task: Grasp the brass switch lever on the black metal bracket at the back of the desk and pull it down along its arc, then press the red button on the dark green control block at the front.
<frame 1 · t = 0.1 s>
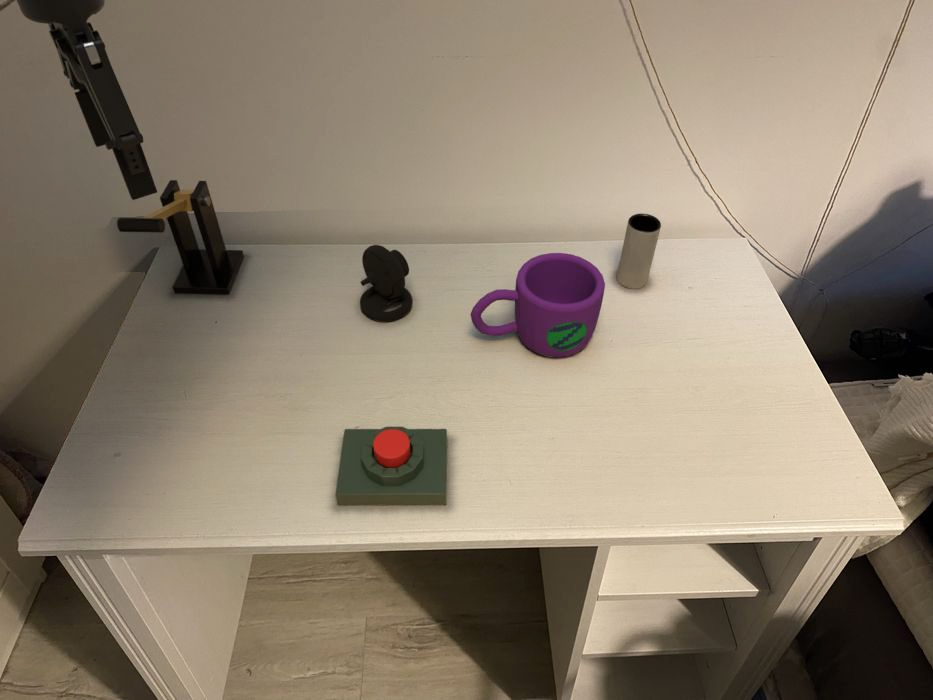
hand: (125, 167, 82), 24 cm above the table, tool pointing down, fingers open, 13 cm apart
mug: (532, 338, 98), on the table
button block: (394, 471, 82), on the table
webcam: (386, 306, 102), on the table
switch lever: (166, 211, 91), point 16 cm above the table, hinge at 22.0°
grey hollow cylinder: (631, 280, 106), on the table
red button: (392, 448, 79), point 4 cm above the table, slide at 0.1 cm
switch bracket: (210, 274, 106), on the table
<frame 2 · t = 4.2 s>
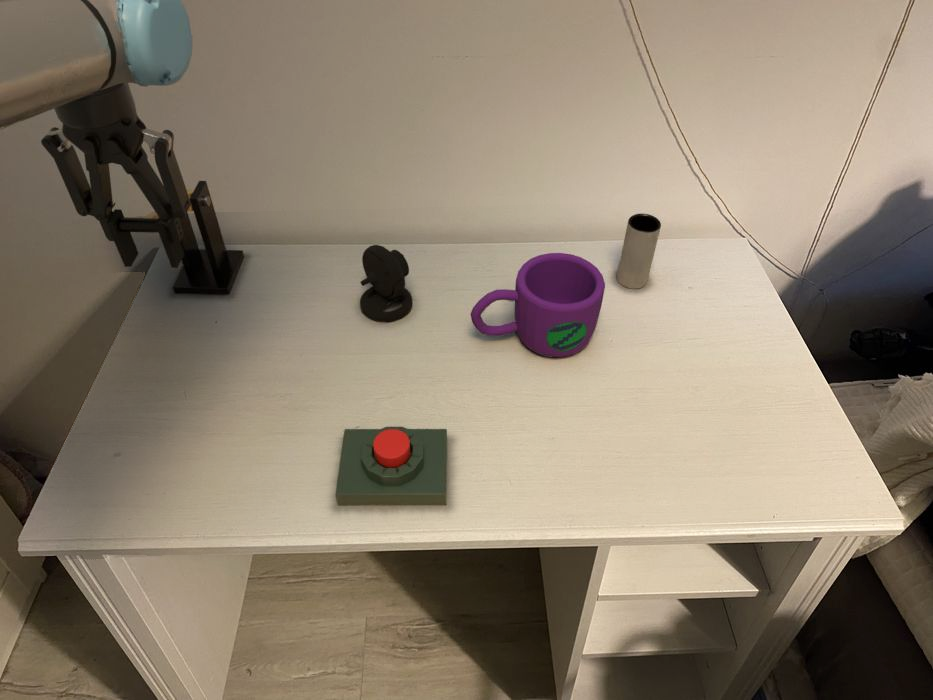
hand: (154, 260, 88), 13 cm above the table, tool pointing down, fingers closed on switch lever, 5 cm apart
switch lever: (166, 211, 91), point 16 cm above the table, hinge at 22.0°, touching gripper
everything else where it was.
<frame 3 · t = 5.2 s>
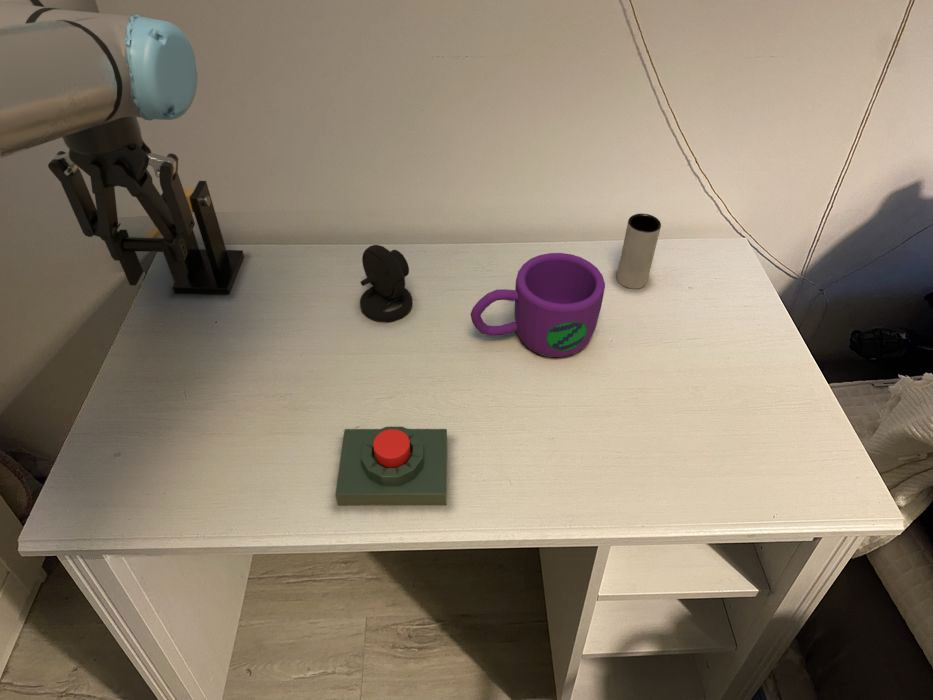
hand: (159, 278, 89), 11 cm above the table, tool pointing down, fingers closed on switch lever, 5 cm apart
switch lever: (168, 220, 91), point 14 cm above the table, hinge at 12.0°, touching gripper
everything else where it was.
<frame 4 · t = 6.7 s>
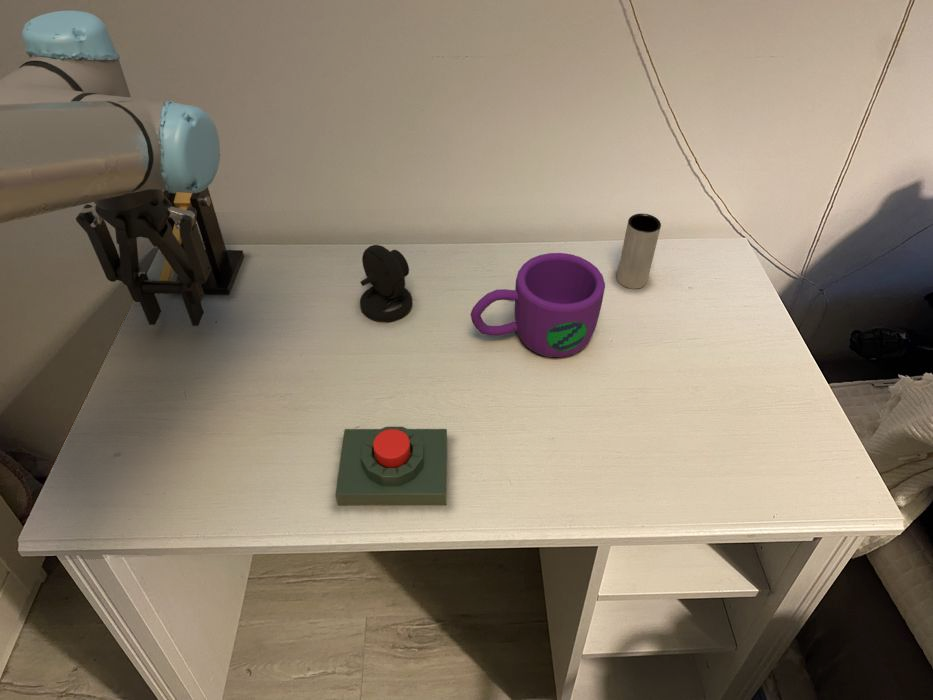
hand: (176, 318, 95), 3 cm above the table, tool pointing down, fingers closed on switch lever, 5 cm apart
switch lever: (175, 240, 94), point 11 cm above the table, hinge at -16.8°, touching gripper
everything else where it was.
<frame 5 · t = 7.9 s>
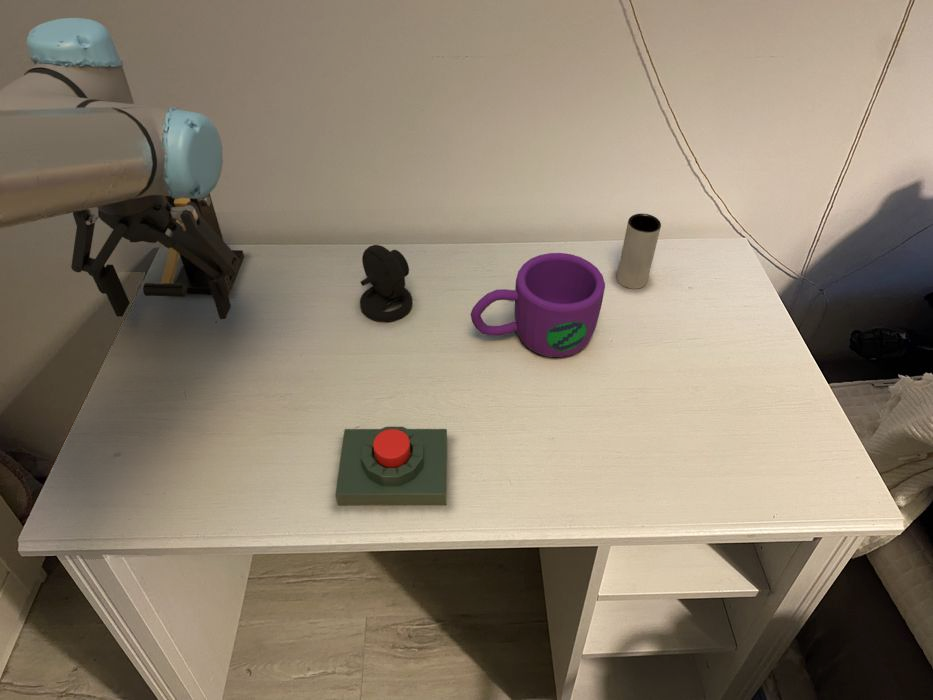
hand: (174, 311, 94), 4 cm above the table, tool pointing down, fingers open, 13 cm apart
switch lever: (176, 241, 94), point 11 cm above the table, hinge at -19.4°
everything else where it was.
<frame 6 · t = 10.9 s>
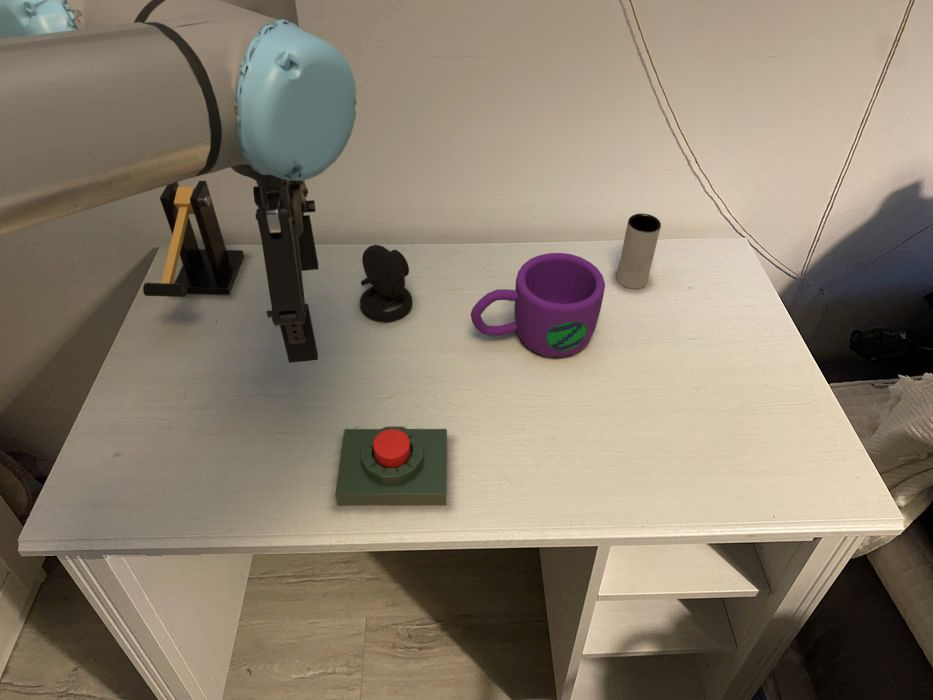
hand: (304, 310, 72), 20 cm above the table, tool pointing down, fingers open, 13 cm apart
nothing on the table moved.
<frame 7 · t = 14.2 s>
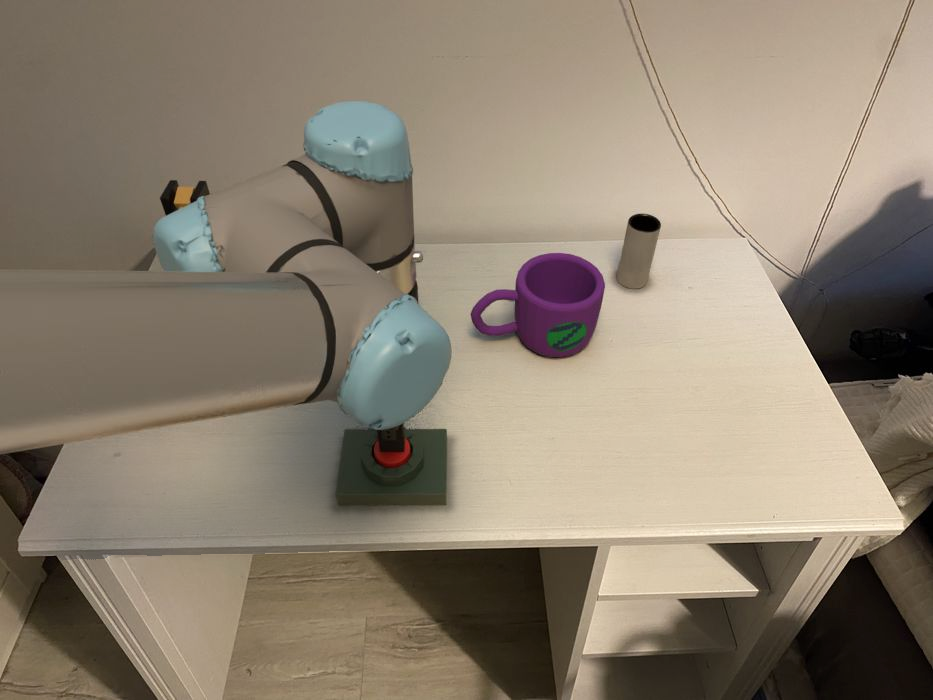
hand: (392, 446, 79), 5 cm above the table, tool pointing down, fingers closed
red button: (392, 452, 79), point 4 cm above the table, slide at -0.8 cm, touching gripper
everything else where it was.
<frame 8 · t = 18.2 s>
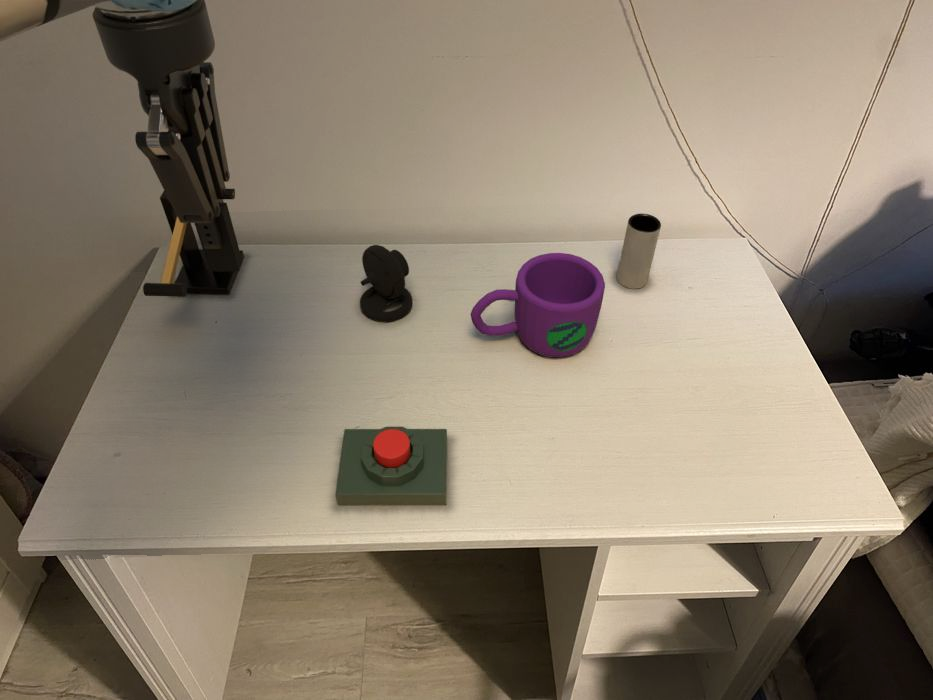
hand: (226, 266, 66), 26 cm above the table, tool pointing down, fingers closed
red button: (392, 448, 79), point 4 cm above the table, slide at 0.1 cm
everything else where it was.
at the end: switch lever at -19° (first picture: +22°); red button pushed in 1.0 cm at the most during the clip, back to where it started at the end; red button slide at 0.1 cm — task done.
